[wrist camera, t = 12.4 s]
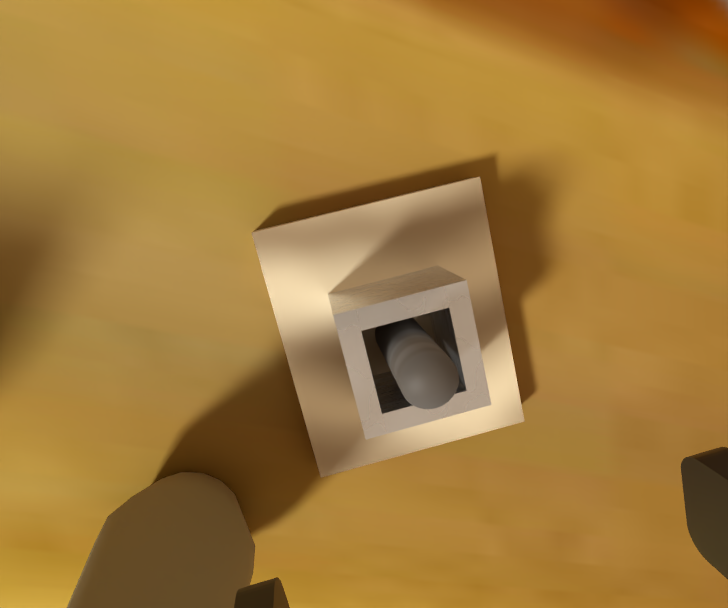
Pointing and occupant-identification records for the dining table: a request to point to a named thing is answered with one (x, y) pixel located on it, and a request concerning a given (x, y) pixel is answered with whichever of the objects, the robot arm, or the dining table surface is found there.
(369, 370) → the collar
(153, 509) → the squeeze bottle
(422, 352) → the stand
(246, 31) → the dining table surface
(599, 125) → the dining table surface
